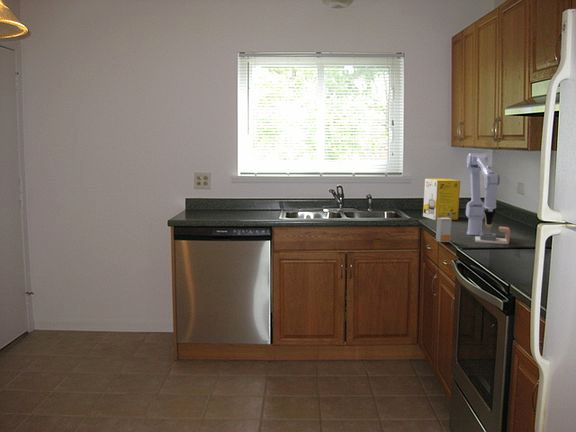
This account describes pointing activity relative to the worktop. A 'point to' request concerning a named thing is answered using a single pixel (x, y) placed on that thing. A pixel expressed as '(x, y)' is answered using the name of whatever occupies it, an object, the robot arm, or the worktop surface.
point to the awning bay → (494, 237)
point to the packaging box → (441, 198)
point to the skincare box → (443, 229)
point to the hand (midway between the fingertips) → (488, 223)
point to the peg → (487, 224)
